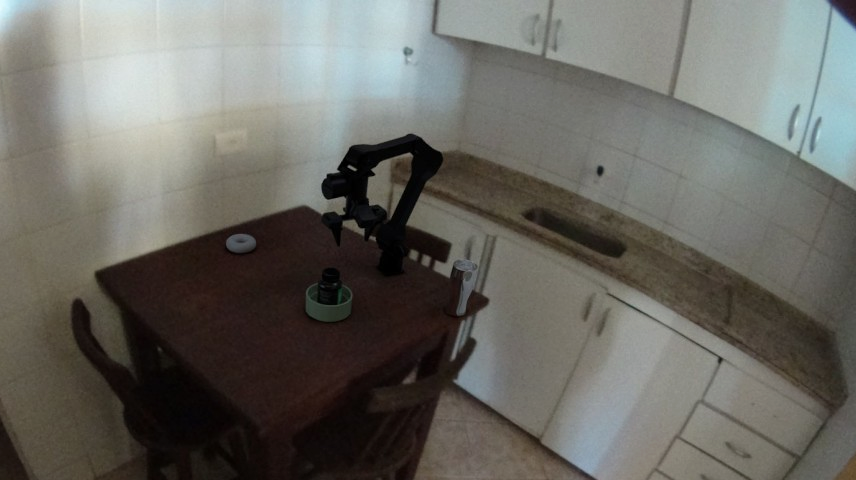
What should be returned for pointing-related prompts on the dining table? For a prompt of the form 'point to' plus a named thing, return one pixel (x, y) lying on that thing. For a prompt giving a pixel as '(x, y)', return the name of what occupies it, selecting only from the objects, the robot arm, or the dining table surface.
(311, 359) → the dining table surface
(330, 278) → the supplement bottle
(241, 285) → the dining table surface
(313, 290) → the green round bowl
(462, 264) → the beer glass
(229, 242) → the donut
